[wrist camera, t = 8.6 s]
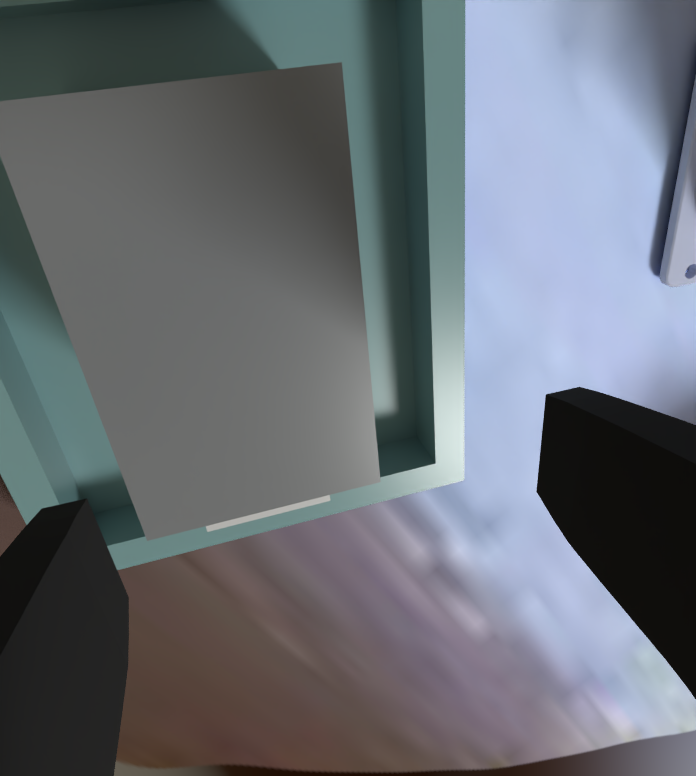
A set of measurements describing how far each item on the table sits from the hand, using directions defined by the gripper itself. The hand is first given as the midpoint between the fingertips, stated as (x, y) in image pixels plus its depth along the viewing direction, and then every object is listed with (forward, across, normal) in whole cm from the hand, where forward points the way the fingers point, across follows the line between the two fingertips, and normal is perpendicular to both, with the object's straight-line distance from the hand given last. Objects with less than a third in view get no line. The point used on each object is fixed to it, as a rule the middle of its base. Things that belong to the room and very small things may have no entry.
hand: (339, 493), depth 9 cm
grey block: (+8, +1, -2) cm, 9 cm away
